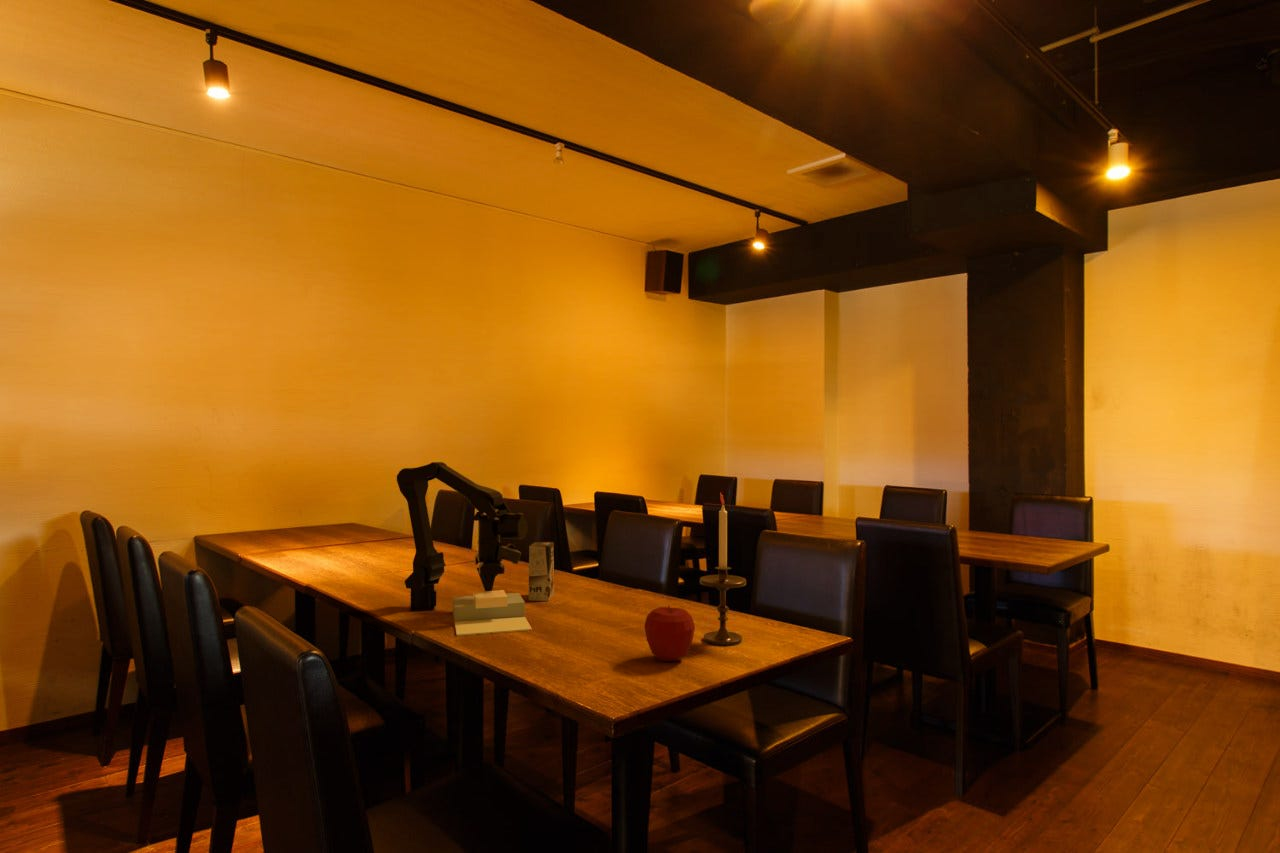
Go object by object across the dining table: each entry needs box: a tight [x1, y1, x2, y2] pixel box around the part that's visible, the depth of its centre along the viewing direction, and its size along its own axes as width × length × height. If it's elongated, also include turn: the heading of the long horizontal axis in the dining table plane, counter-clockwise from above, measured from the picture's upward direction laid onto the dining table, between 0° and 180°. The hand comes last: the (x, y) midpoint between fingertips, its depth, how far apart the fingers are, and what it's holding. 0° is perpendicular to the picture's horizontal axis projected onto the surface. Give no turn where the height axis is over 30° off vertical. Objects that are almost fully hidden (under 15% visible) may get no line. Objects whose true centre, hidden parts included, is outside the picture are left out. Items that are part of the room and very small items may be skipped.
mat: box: [454, 616, 533, 637], centre depth 174 cm, size 18×12×1 cm, turn 107°
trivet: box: [473, 589, 508, 608], centre depth 182 cm, size 8×8×2 cm
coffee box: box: [528, 541, 555, 602], centre depth 207 cm, size 9×6×16 cm
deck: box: [452, 592, 526, 623], centre depth 187 cm, size 18×12×4 cm, turn 107°
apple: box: [644, 605, 696, 662], centre depth 149 cm, size 11×11×12 cm
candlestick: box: [699, 492, 747, 647], centre depth 164 cm, size 11×11×35 cm
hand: (488, 595), depth 187 cm, fingers closed
